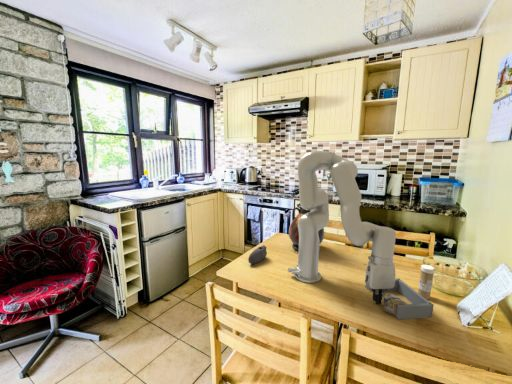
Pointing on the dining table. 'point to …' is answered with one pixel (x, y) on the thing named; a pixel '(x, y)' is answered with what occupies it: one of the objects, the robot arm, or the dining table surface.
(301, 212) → the amphora vase
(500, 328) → the dining table surface
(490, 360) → the dining table surface
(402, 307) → the box
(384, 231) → the robot arm
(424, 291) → the sprinkles bottle
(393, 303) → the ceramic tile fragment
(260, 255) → the perforated stone tool
